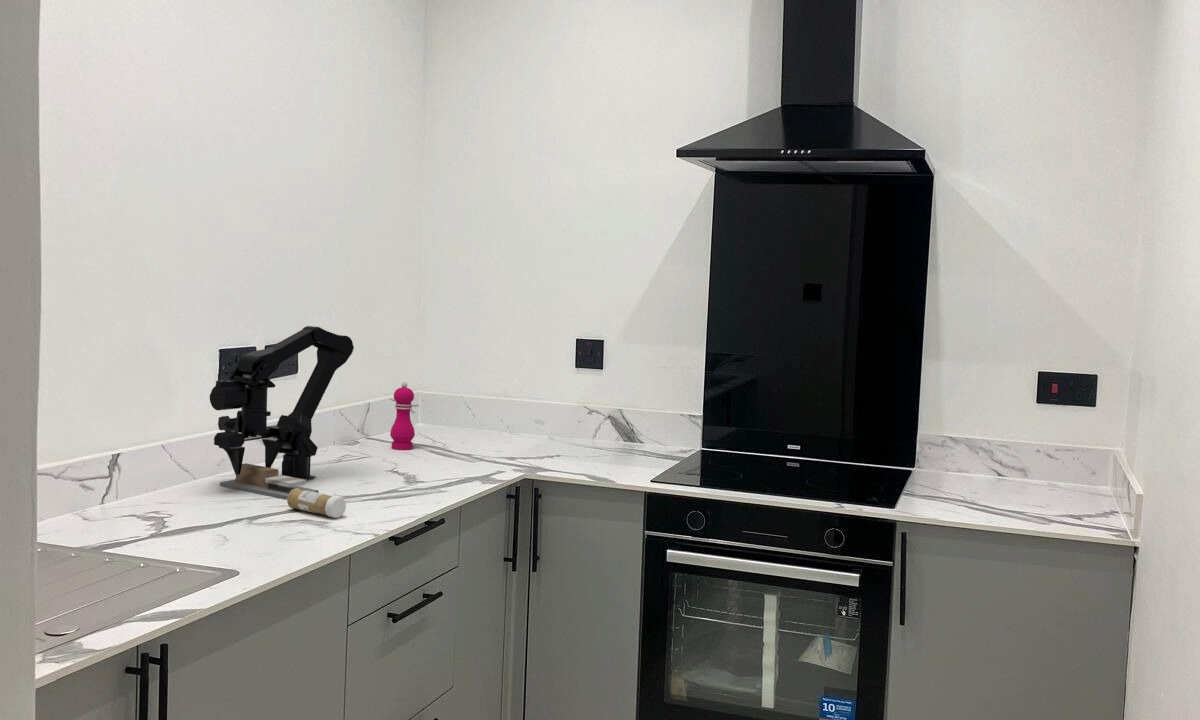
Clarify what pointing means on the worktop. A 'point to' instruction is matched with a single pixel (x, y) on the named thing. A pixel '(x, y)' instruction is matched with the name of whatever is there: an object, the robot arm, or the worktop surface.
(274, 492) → the tool mat
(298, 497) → the sprinkles bottle
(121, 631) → the worktop surface
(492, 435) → the worktop surface
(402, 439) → the pepper mill
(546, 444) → the worktop surface
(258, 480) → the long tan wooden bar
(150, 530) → the worktop surface
